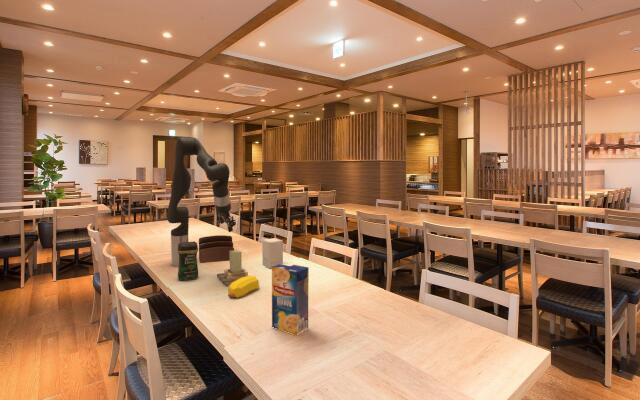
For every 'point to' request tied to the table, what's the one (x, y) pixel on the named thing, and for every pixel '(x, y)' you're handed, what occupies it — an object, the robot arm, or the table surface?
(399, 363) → the table surface
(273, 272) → the blue cracker box
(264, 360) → the table surface
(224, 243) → the letter holder
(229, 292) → the yellow banana
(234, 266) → the post
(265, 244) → the supplement box
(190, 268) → the coffee jar
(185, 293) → the table surface
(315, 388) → the table surface
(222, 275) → the well board
